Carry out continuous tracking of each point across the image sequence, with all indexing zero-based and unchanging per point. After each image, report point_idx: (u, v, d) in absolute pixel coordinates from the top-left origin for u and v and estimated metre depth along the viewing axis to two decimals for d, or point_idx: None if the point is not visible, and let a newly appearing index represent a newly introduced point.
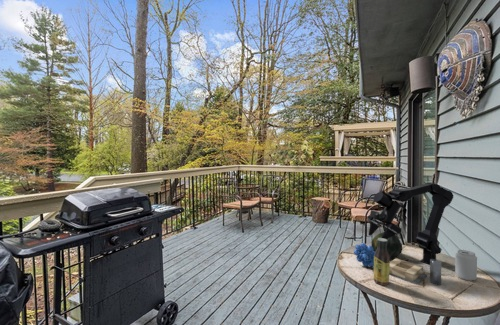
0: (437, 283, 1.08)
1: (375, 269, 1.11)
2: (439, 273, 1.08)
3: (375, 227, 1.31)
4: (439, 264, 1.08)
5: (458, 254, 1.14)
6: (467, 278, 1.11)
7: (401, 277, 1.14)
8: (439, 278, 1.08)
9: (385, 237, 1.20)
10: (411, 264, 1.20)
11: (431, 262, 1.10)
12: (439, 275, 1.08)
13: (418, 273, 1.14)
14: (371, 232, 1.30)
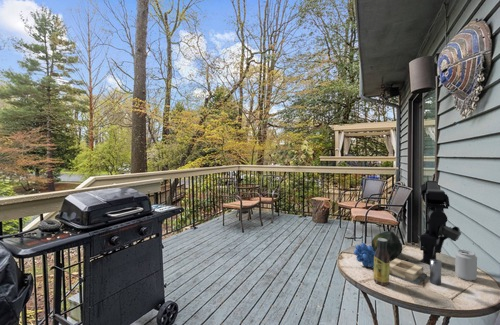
0: (437, 283, 1.08)
1: (375, 269, 1.11)
2: (439, 273, 1.08)
3: None
4: (439, 264, 1.08)
5: (458, 254, 1.14)
6: (467, 278, 1.11)
7: (401, 277, 1.14)
8: (439, 278, 1.08)
9: None
10: (411, 264, 1.20)
11: (431, 262, 1.10)
12: (439, 275, 1.08)
13: (418, 273, 1.14)
14: None
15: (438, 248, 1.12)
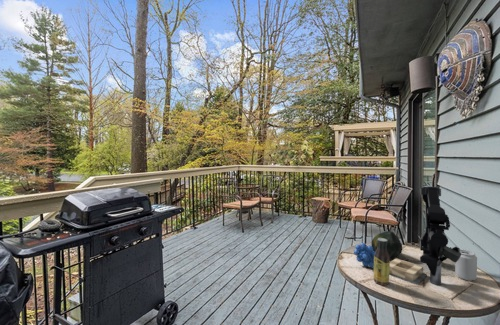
0: (437, 283, 1.08)
1: (375, 269, 1.11)
2: (439, 273, 1.08)
3: None
4: None
5: None
6: (467, 278, 1.11)
7: (401, 277, 1.14)
8: (439, 278, 1.08)
9: None
10: (411, 264, 1.20)
11: None
12: (439, 275, 1.08)
13: (418, 273, 1.14)
14: None
15: None
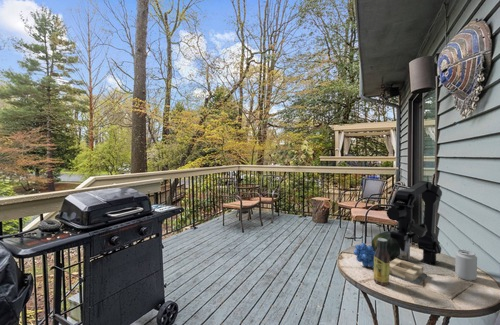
0: (406, 258, 1.16)
1: (375, 269, 1.11)
2: (408, 248, 1.16)
3: None
4: (408, 240, 1.16)
5: (458, 254, 1.14)
6: (467, 278, 1.11)
7: (401, 277, 1.14)
8: (407, 252, 1.16)
9: None
10: (411, 264, 1.20)
11: None
12: (408, 250, 1.16)
13: (418, 273, 1.14)
14: None
15: None
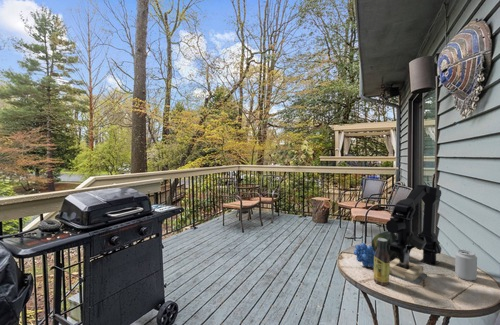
0: None
1: (375, 269, 1.11)
2: (407, 260, 1.16)
3: None
4: (407, 252, 1.16)
5: (458, 254, 1.14)
6: (467, 278, 1.11)
7: (401, 277, 1.14)
8: (406, 265, 1.16)
9: None
10: (411, 264, 1.20)
11: None
12: (407, 262, 1.16)
13: (418, 273, 1.14)
14: None
15: None
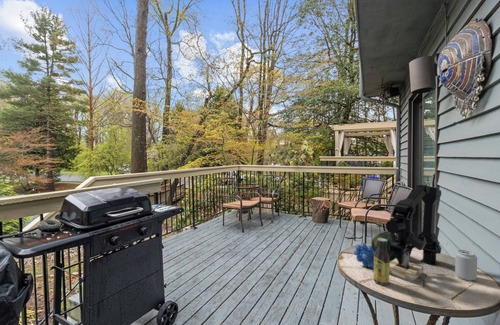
0: None
1: (375, 269, 1.11)
2: (407, 263, 1.16)
3: None
4: (407, 254, 1.16)
5: (458, 254, 1.14)
6: (467, 278, 1.11)
7: (401, 277, 1.14)
8: (406, 267, 1.16)
9: None
10: (411, 264, 1.20)
11: None
12: (407, 264, 1.16)
13: (418, 273, 1.14)
14: None
15: None
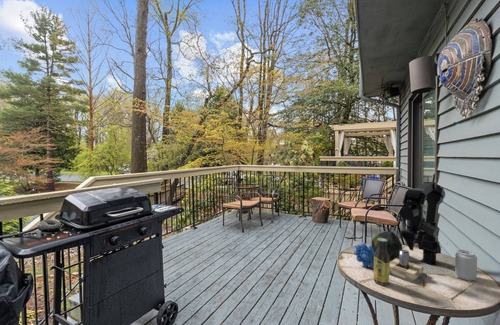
0: None
1: (375, 269, 1.11)
2: (407, 263, 1.16)
3: None
4: (407, 254, 1.16)
5: (458, 254, 1.14)
6: (467, 278, 1.11)
7: (401, 277, 1.14)
8: (406, 267, 1.16)
9: None
10: (411, 264, 1.20)
11: (400, 252, 1.18)
12: (407, 264, 1.16)
13: (418, 273, 1.14)
14: None
15: (419, 242, 1.22)
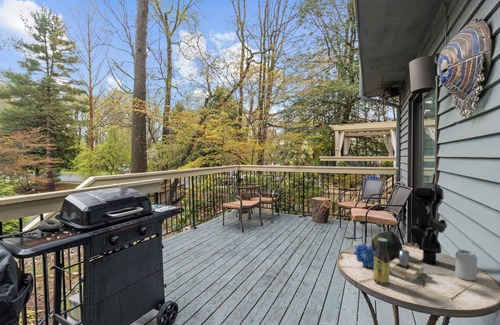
0: None
1: (375, 269, 1.11)
2: (407, 263, 1.16)
3: None
4: (407, 254, 1.16)
5: (458, 254, 1.14)
6: (467, 278, 1.11)
7: (401, 277, 1.14)
8: (406, 267, 1.16)
9: None
10: (411, 264, 1.20)
11: (400, 252, 1.18)
12: (407, 264, 1.16)
13: (418, 273, 1.14)
14: None
15: (427, 240, 1.23)
